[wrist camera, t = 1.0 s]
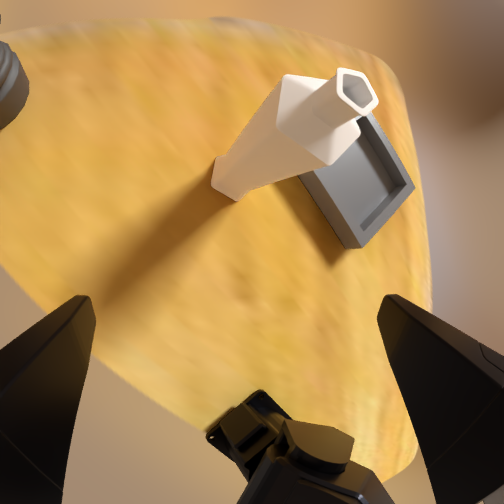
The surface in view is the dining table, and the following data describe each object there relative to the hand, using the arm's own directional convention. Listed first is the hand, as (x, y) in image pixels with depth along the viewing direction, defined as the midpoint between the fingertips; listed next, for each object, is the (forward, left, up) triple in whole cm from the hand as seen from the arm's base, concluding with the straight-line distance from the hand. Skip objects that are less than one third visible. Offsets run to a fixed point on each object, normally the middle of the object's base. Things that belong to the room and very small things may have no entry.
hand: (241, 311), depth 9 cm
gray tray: (-3, -18, -15) cm, 24 cm away
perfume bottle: (+3, -8, -15) cm, 17 cm away
